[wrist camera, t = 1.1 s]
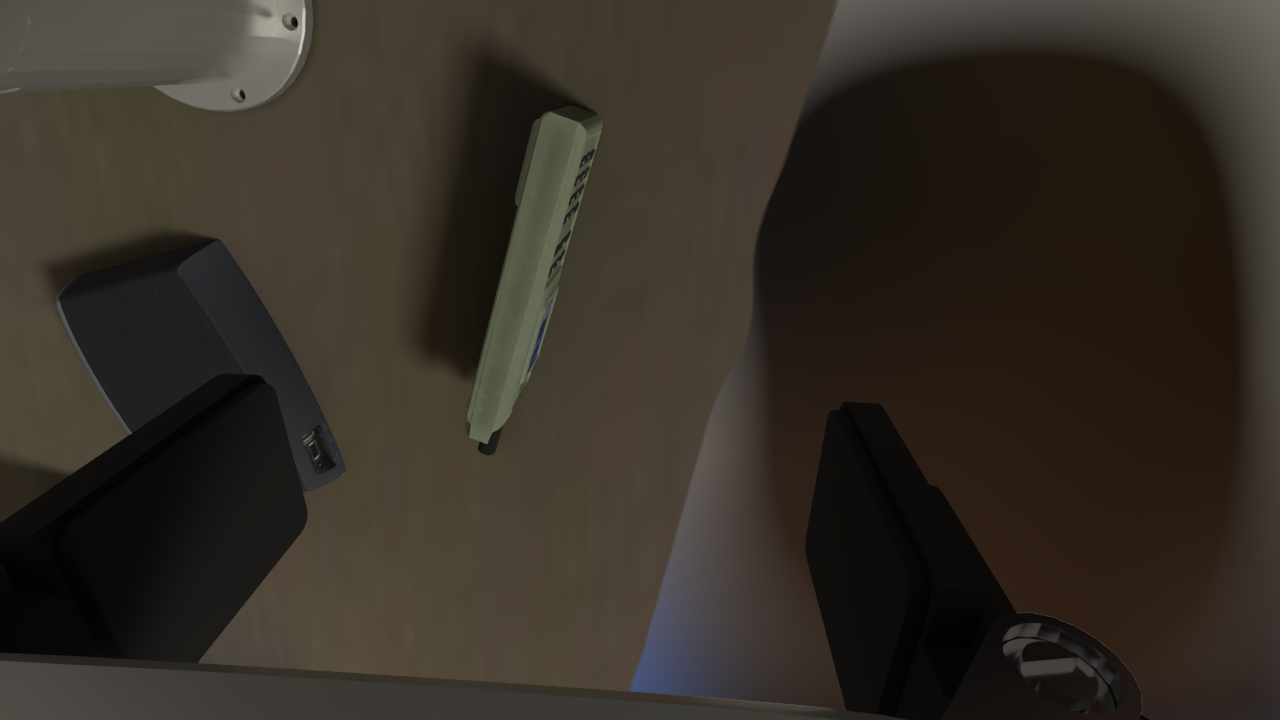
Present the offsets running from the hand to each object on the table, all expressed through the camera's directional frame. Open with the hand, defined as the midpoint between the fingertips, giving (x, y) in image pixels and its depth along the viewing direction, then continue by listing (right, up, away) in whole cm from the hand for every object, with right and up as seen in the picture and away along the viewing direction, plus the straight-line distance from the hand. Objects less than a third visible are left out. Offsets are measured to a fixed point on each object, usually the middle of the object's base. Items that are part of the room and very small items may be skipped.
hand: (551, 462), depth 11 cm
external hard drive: (-30, 0, +36) cm, 47 cm away
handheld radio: (-6, +6, +32) cm, 33 cm away
